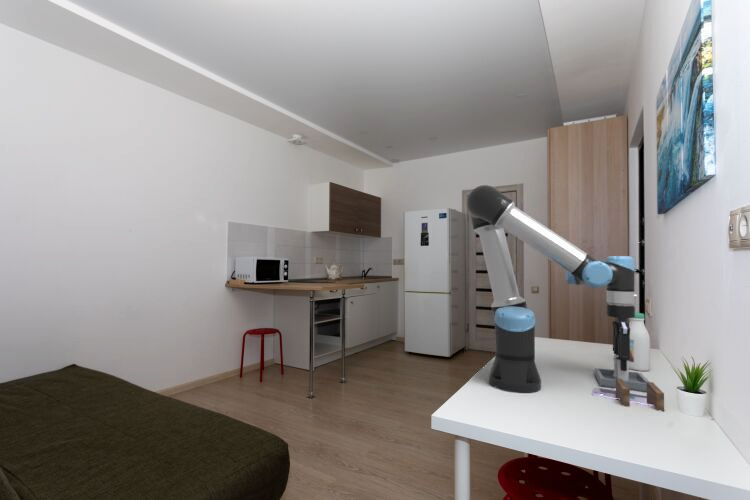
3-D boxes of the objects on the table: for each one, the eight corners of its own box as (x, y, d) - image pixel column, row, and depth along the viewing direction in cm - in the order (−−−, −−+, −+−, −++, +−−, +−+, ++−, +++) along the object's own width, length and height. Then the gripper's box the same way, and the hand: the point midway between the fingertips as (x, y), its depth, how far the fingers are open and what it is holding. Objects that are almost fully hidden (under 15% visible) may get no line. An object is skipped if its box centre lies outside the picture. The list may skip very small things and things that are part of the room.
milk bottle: (649, 367, 138) (648, 313, 139) (651, 372, 131) (650, 315, 132) (624, 364, 142) (623, 311, 143) (624, 369, 136) (624, 313, 136)
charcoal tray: (600, 386, 116) (600, 378, 116) (594, 375, 128) (594, 367, 128) (651, 392, 111) (651, 384, 111) (640, 380, 123) (640, 372, 123)
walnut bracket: (623, 405, 100) (622, 388, 101) (615, 393, 110) (615, 378, 110) (664, 411, 97) (664, 393, 97) (653, 398, 106) (652, 382, 106)
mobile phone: (655, 404, 100) (590, 392, 108) (655, 408, 100) (590, 396, 108) (655, 396, 106) (593, 386, 115) (655, 400, 106) (593, 389, 115)
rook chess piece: (631, 383, 117) (630, 357, 117) (615, 382, 118) (614, 356, 118) (625, 379, 121) (624, 354, 122) (610, 378, 122) (608, 353, 122)
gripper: (641, 308, 110) (642, 388, 110) (628, 302, 127) (628, 372, 126) (612, 306, 113) (612, 384, 113) (602, 301, 130) (602, 369, 129)
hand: (621, 378), depth 119 cm, fingers open, 5 cm apart
